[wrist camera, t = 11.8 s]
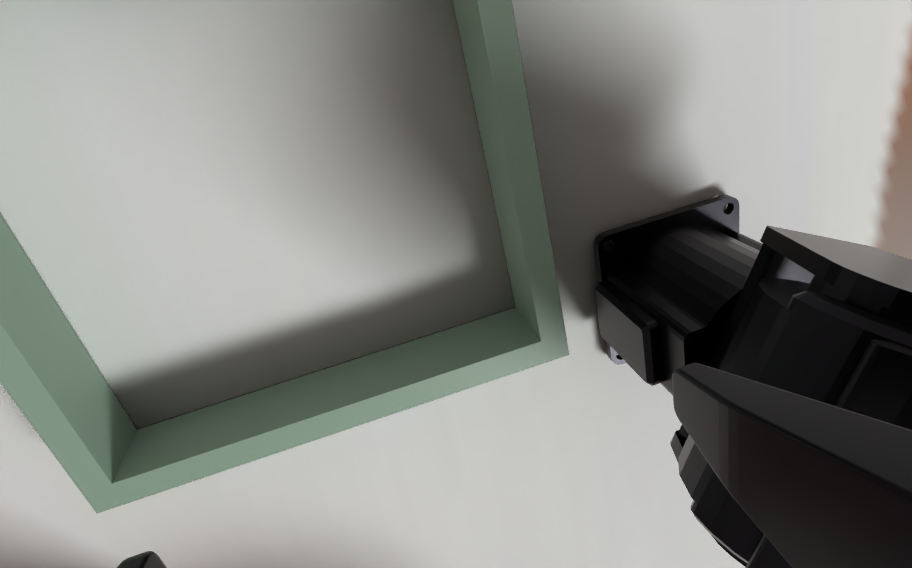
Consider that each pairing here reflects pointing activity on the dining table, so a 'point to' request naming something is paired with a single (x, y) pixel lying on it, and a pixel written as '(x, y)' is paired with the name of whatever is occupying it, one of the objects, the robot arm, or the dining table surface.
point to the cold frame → (320, 393)
